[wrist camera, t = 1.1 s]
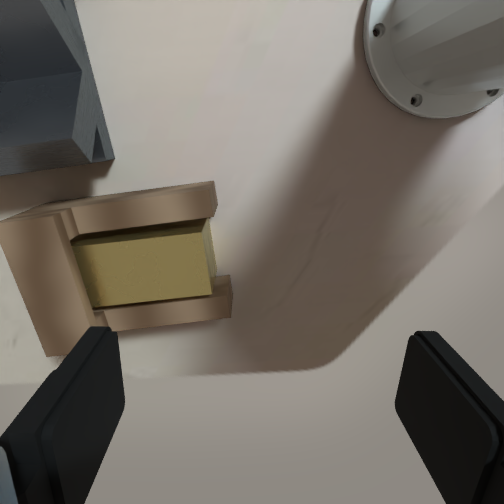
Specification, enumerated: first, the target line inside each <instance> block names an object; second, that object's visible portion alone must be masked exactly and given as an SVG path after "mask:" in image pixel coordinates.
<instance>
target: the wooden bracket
mask: <svg viewBox="0 0 504 504" xmlns="http://www.w3.org/2000/svg"><path fill="white" fill-rule="evenodd" d="M217 206H218V202H217V196H216V190H215V184H214V181H208V182H201V183H193V184H186V185H178V186H171V187H163V188H156V189H148V190H141V191H133V192H125V193H118V194H110V195H103V196H95V197H88V198H80V199H73V200H65V201H58V202H50V203H45V204H43V205H40V206H38V207H35V208H33V209H30V210H27V211H25V212H22V213H20V214H17V215H15V216H12V217H10V218H7V219H4V220H2V221H0V244H1V246H2V249H3V251H4V254H5V256H6V259H7V261H8V264H9V266H10V269H11V271H12V273H13V276H14V278H15V281H16V283H17V286H18V288H19V291H20V293H21V295H22V298H23V300H24V303H25V305H26V308H27V310H28V313H29V315H30V317H31V320H32V322H33V325H34V327H35V330H36V332H37V335H38V337H39V340H40V342H41V344H42V347H43V349H44V352H45V354H46V357H51V356H59V355H67V354H69V353H70V351H71V350H72V349H73V347H74V346H75V345H76V344H77V342H78V341H79V340H80V338H81V337H82V336H83V334H84V333H85V332H86V331H87V329H88V328H89V327H91V326H109V327H111V329H112V331H123V330H131V329H139V328H148V327H156V326H164V325H173V324H181V323H189V322H197V321H206V320H214V319H222V318H231V312H232V299H233V293H232V287H231V281H230V275H225V276H217V277H215V282H214V287H213V292H212V294H210V295H201V296H192V297H183V298H174V299H165V300H155V301H146V302H137V303H128V304H119V305H110V306H101V307H91V304H90V301H89V298H88V295H87V292H86V289H85V286H84V283H83V280H82V277H81V274H80V271H79V268H78V265H77V262H76V259H75V256H74V253H73V249H72V246H71V243H70V240H71V239H73V238H74V237H76V236H77V235H79V234H84V233H91V232H99V231H107V230H115V229H122V228H130V227H138V226H145V225H153V224H161V223H169V222H176V221H184V220H192V219H200V218H207V217H214V214H215V212H216V209H217Z"/></svg>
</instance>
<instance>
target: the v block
mask: <svg viewBox="0 0 504 504" xmlns="http://www.w3.org/2000/svg"><path fill="white" fill-rule="evenodd" d="M111 159H115V157H114V153H113V149H112V145H111V141H110V137H109V133H108V130H107V126H106V122H105V118H104V114H103V110H102V107H101V103H100V99H99V95H98V91H97V87H96V83H95V80H94V76H93V72H92V68H91V64H90V60H89V57H88V53H87V49H86V45H85V41H84V37H83V33H82V30H81V26H80V22H79V18H78V14H77V10H76V7H75V3H74V0H0V176H3V175H10V174H17V173H25V172H32V171H39V170H47V169H54V168H62V167H69V166H76V165H84V164H91V163H93V162H100V161H107V160H111Z"/></svg>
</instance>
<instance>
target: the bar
mask: <svg viewBox="0 0 504 504" xmlns="http://www.w3.org/2000/svg"><path fill="white" fill-rule="evenodd" d="M70 243H71V246H72V249H73V253H74V256H75V259H76V262H77V265H78V268H79V271H80V274H81V277H82V280H83V283H84V286H85V289H86V292H87V295H88V298H89V301H90V304H91V307H101V306H110V305H119V304H128V303H137V302H146V301H155V300H165V299H174V298H183V297H192V296H201V295H210V294H212V292H213V287H214V282H215V277H216V272H217V266H216V260H215V254H214V248H213V241H212V235H211V229H210V223H209V217H207V218H200V219H192V220H184V221H176V222H169V223H161V224H153V225H145V226H138V227H130V228H122V229H115V230H107V231H99V232H91V233H84V234H79V235H77V236H76V237H74V238H73V239H71V240H70Z"/></svg>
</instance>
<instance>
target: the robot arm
mask: <svg viewBox="0 0 504 504" xmlns="http://www.w3.org/2000/svg"><path fill="white" fill-rule="evenodd" d="M373 30H376V31H377V33H378V35H377V37H375V36H374V35H373ZM363 42H364V49H365V56H366V61H367V64H368V67H369V70H370V73H371V75H372V77H373V79H374V81H375V83H376V84H377V86H378V88H379V90H380V91H381V92H382V93H383V94H384V95H385V96H386V97H387V99H388V100H389V101H390V102H392V103H393V104H394V105H396V106H397V107H399V108H400V109H401V110H403V111H406V112H408V113H410V114H413V115H415V116H420V117H426V118H450V117H458V116H462V115H465V114H468V113H471V112H474V111H477V110H479V109H481V108H483V107H484V106H486V105H488V104H490V103H492V102H493V101H495V100H496V99H497V98H499V97H500V96H501V95H502V94H504V0H368V1H367V6H366V12H365V17H364V31H363ZM411 98H413V99H414V103H413V104H412V105H411V102H410V101H411ZM124 405H125V396H124V387H123V378H122V369H121V361H120V352H119V343H118V335H117V332H116V331H112V329H111V327H109V326H91V327H89V328H88V329H87V331H86V332H85V333H84V334H83V336H82V337H81V338H80V340H79V341H78V342H77V344H76V345H75V346H74V347H73V349H72V350H71V351H70V353H69V354H68V355H67V356H66V358H65V359H64V360H63V362H62V363H61V364H60V366H59V367H58V368H57V369H56V370H54V371H53V372H52V373H50V374H49V376H48V377H47V378H46V380H45V381H44V382H43V383H42V385H41V386H40V387H39V388H38V390H37V391H36V392H35V394H34V395H33V396H32V397H31V399H30V400H29V401H28V402H27V404H26V405H25V406H24V408H23V409H22V410H21V412H20V413H19V414H18V415H17V417H16V418H15V419H14V420H13V422H12V423H11V424H10V426H9V427H8V428H7V429H6V431H5V432H4V433H3V434H2V436H1V437H0V504H84V503H85V501H86V498H87V496H88V493H89V491H90V489H91V486H92V484H93V482H94V479H95V477H96V475H97V472H98V470H99V468H100V465H101V463H102V460H103V458H104V456H105V453H106V451H107V449H108V446H109V444H110V441H111V439H112V437H113V434H114V432H115V429H116V427H117V425H118V423H119V420H120V418H121V415H122V413H123V410H124ZM395 409H396V412H397V414H398V416H399V418H400V420H401V422H402V423H403V425H404V427H405V429H406V431H407V433H408V434H409V436H410V438H411V440H412V442H413V444H414V446H415V447H416V449H417V451H418V453H419V455H420V456H421V458H422V460H423V462H424V464H425V466H426V468H427V469H428V471H429V473H430V475H431V476H432V478H433V480H434V482H435V484H436V486H437V488H438V490H439V491H440V493H441V495H442V497H443V499H444V501H445V502H446V504H504V401H503V400H502V399H501V398H500V397H499V396H498V395H497V394H496V393H495V392H494V391H493V390H492V389H491V388H490V387H489V386H488V384H486V383H485V381H484V380H483V379H482V378H481V377H480V376H479V375H478V374H477V373H476V372H475V371H474V370H473V369H472V368H471V367H470V366H469V365H468V364H467V363H466V362H465V361H464V359H463V358H462V357H461V356H460V355H459V354H458V353H457V352H456V351H455V350H454V349H453V348H452V347H451V346H450V345H449V344H448V343H447V342H446V341H445V340H444V339H443V338H442V337H441V336H440V335H439V333H437V332H435V331H416V332H415V333H414V335H412V336H410V337H409V340H408V344H407V349H406V353H405V358H404V362H403V367H402V371H401V376H400V380H399V385H398V390H397V395H396V399H395Z"/></svg>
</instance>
